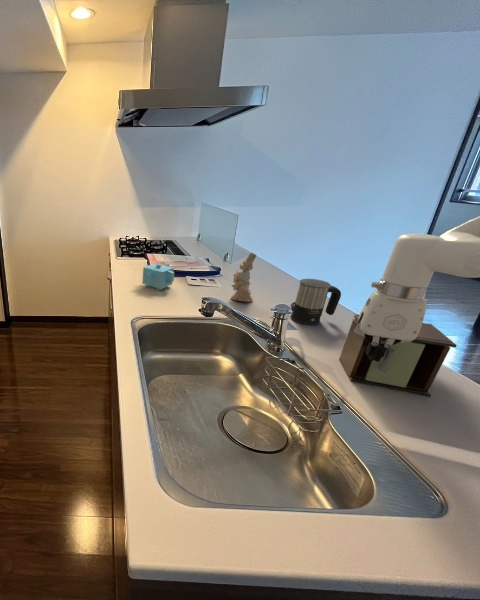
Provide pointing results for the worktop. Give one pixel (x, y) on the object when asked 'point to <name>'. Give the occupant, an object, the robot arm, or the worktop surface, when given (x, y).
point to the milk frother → (314, 301)
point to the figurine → (243, 280)
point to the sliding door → (396, 364)
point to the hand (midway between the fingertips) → (372, 358)
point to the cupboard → (423, 372)
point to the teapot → (158, 276)
